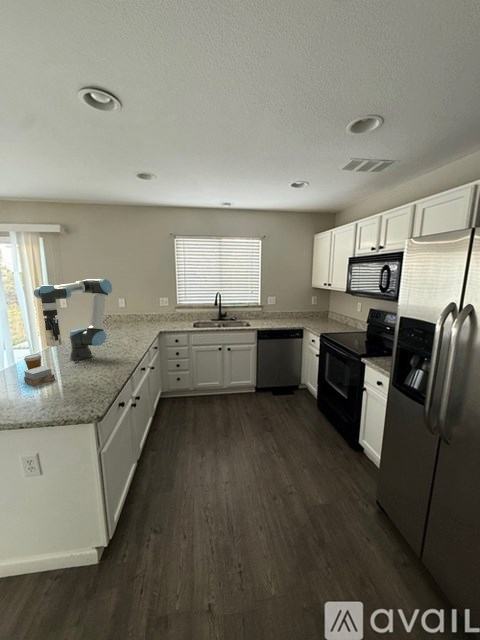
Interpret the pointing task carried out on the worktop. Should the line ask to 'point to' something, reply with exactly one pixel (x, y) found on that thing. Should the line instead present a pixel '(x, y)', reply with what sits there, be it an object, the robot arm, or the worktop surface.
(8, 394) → the worktop surface
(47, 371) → the top slab
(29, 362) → the disposable coffee cup
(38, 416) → the worktop surface
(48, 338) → the birch block
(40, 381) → the base slab
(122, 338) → the worktop surface
